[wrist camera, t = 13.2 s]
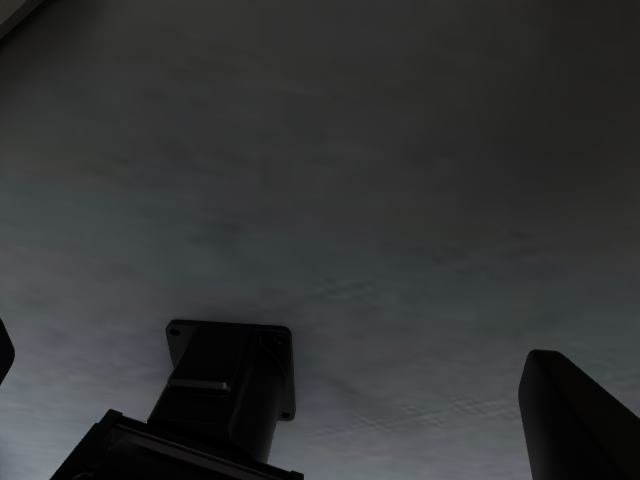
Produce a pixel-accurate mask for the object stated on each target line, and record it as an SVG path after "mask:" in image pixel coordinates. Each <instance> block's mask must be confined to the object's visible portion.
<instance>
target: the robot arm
mask: <svg viewBox="0 0 640 480" xmlns="http://www.w3.org/2000/svg"><path fill="white" fill-rule="evenodd" d="M174 328H175V329H178V330H179V331H177V330H175V329H174ZM166 335H167V340H168V345H169V349H170V354H171V358H172V363H173V367H174V369H173V371H172V373H171V375H170V376H169V378H168V381H167V384H166V386H165V388H164V390H163V392H162V394H161V396H160V397H159V399H158V401H157V403H156V405H155V407H154V409H153V411H152V413H151V415H150V416H149V418H148V420H147V423H144V422H141V421H138V420H135V419H132V418H129V417H126V416H123V413H121V412H118V411H115V410H112V409H109V411H108V412H107V413H106V414H105V416H104V417H103V418H102V419H101V421H100V422H99V423H95V424H94V425H93V426H92V428H91V429H90V430H89V431H88V433H87V434H86V435H85V436H84V438H83V439H82V440H81V441H80V442H79V444H78V445H77V446H76V447H75V449H74V450H73V451H72V452H71V454H70V455H69V456H68V457H67V459H66V460H65V461H64V462H63V464H62V465H61V466H60V467H59V469H58V470H57V471H56V472H55V473H54V475H53V476H52V477H51V478H50V480H304V474H302V473H299V472H296V471H293V470H292V471H291V472H289V471H286V470H283V469H280V468H277V467H274V466H271V465H268V464H267V460H268V456H269V452H270V448H271V443H272V439H273V435H274V430H275V426H276V422H277V421H291V420H293V419H294V416H295V411H296V405H295V386H294V367H293V348H292V334H291V331H290V330H289V329H288V328H286V327H283V326H270V325H255V324H239V323H223V322H208V321H192V320H172V321H170V322H169V324H168V326H167V327H166ZM278 335H282V336H284V337H285V338H281V337H279V336H278ZM14 358H15V350H14V347H13V344H12V342H11V340H10V337H9V335H8V333H7V331H6V328H5V326H4V324H3V321H2V320H1V318H0V385H1V383H2V382H3V380H4V378H5V376H6V374H7V373H8V371H9V369H10V367H11V366H12V364H13V361H14ZM518 398H519V406H520V411H521V417H522V422H523V428H524V433H525V439H526V444H527V450H528V456H529V461H530V467H531V472H532V478H533V480H640V418H638V417H637V416H636V415H635V414H634V413H632V412H631V411H630V410H629V409H628V408H626V407H625V406H624V405H623V404H622V403H620V402H619V401H618V400H617V399H616V398H614V397H613V396H612V395H611V394H610V393H608V392H607V391H606V390H605V389H604V388H602V387H601V386H600V385H599V384H598V383H596V382H595V381H594V380H593V379H592V378H590V377H589V376H588V375H587V374H586V373H584V372H583V371H582V370H581V369H580V368H578V367H577V366H576V365H575V364H574V363H572V362H571V361H570V360H569V359H568V358H566V357H565V356H564V355H563V354H561V353H560V352H558V351H551V350H536V349H535V350H532V351H530V352H529V354H528V356H527V359H526V363H525V366H524V370H523V374H522V377H521V381H520V385H519V391H518ZM287 412H288V413H287Z"/></svg>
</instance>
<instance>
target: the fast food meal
mask: <svg viewBox="0 0 640 480" xmlns="http://www.w3.org/2000/svg"><path fill="white" fill-rule="evenodd" d="M43 1H44V0H0V39H1V38H3V37H4V36H5V35H6V34H7V33H8V32H9V31H10V30H11V29H13V28H14V27H15V26H16V25H17V24H18V23H19V22H20V21H21V20H23V19H24V18H25V17H26V16H27V15H28V14H29V13H30V12H31V11H33V10H34V9H35V8H36V7H37V6H38V5H39V4H40V3H41V2H43Z"/></svg>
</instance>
